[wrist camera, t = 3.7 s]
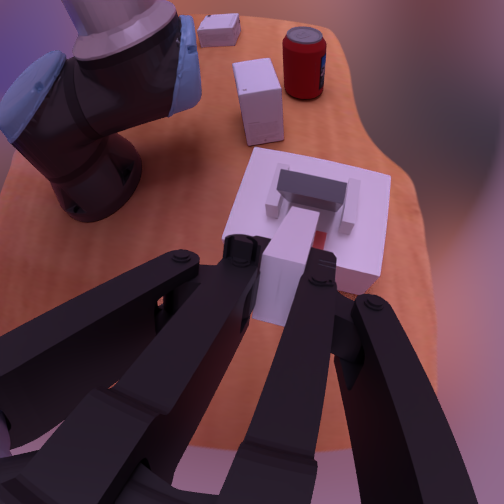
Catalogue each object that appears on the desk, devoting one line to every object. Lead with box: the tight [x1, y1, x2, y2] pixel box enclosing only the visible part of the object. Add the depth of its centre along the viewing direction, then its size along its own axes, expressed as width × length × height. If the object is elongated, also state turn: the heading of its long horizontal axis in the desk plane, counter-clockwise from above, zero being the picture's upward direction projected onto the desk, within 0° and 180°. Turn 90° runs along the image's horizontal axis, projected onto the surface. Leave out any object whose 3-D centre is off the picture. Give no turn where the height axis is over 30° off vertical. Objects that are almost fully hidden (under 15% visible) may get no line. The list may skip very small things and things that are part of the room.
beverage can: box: [283, 27, 326, 99], centre depth 44 cm, size 7×7×12 cm
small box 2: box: [232, 58, 284, 146], centre depth 42 cm, size 8×6×10 cm
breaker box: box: [222, 147, 391, 295], centre depth 35 cm, size 12×16×10 cm
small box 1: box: [197, 14, 241, 47], centre depth 57 cm, size 8×8×5 cm
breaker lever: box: [276, 169, 347, 212], centre depth 27 cm, size 2×5×10 cm, turn 74°
